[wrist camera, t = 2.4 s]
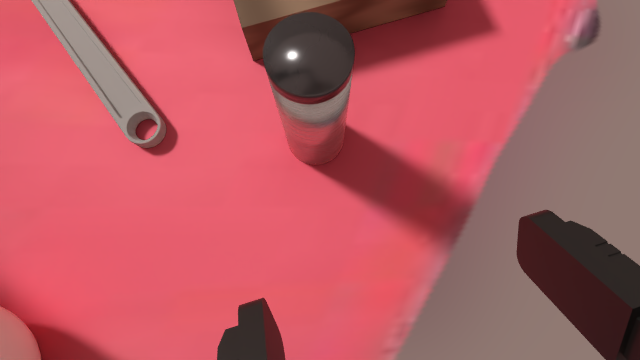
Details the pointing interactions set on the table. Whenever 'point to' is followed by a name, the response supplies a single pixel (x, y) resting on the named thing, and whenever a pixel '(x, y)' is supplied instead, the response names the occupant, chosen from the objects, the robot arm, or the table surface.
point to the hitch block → (339, 3)
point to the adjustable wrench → (101, 70)
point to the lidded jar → (16, 338)
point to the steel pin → (311, 82)
